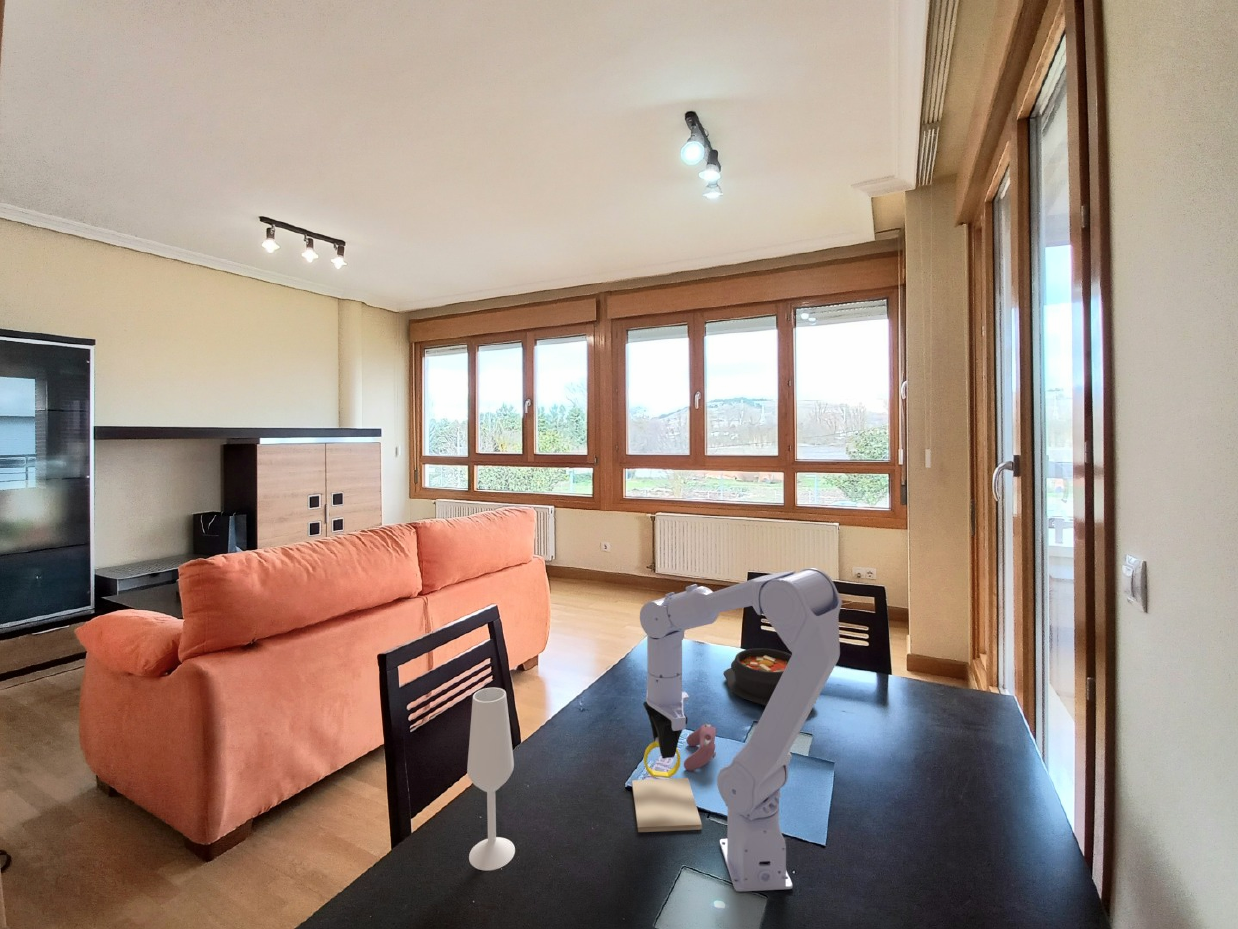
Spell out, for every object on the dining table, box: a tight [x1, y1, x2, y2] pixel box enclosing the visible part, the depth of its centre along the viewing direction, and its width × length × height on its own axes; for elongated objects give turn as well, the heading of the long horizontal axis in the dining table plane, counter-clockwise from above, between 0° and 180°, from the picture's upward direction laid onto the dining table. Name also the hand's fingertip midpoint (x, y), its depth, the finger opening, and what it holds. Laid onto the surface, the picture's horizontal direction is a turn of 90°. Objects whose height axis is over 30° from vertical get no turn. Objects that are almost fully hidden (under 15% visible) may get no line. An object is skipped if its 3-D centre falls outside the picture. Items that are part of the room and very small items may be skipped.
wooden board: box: [631, 777, 703, 833], centre depth 94 cm, size 12×10×1 cm
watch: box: [643, 737, 682, 779], centre depth 93 cm, size 6×3×6 cm, turn 94°
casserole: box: [723, 647, 817, 707], centre depth 134 cm, size 25×19×8 cm
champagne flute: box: [466, 687, 516, 871], centre depth 83 cm, size 7×7×24 cm
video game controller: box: [683, 722, 717, 772], centre depth 107 cm, size 10×5×7 cm, turn 170°
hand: (664, 751), depth 93 cm, fingers closed on watch, 3 cm apart
